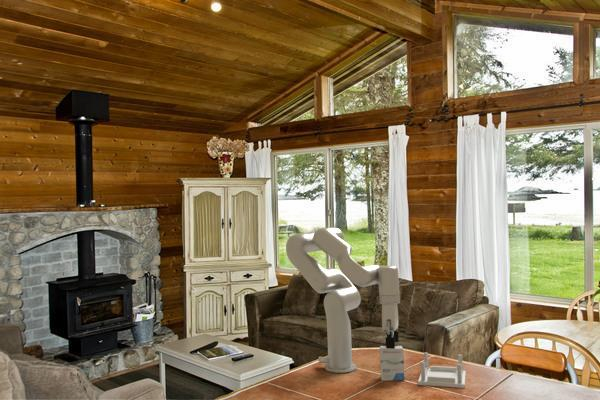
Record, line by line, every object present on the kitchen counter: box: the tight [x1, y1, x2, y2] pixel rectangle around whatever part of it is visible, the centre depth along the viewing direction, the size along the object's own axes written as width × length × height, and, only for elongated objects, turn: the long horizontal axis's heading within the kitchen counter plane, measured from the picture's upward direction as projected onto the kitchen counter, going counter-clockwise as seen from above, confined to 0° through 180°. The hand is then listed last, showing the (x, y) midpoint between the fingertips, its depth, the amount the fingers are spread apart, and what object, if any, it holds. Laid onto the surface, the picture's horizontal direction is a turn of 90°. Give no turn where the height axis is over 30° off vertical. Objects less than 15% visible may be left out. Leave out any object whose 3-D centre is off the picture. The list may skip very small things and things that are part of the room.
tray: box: [417, 352, 467, 389], centre depth 195 cm, size 16×16×8 cm
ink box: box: [379, 345, 405, 381], centre depth 198 cm, size 8×5×12 cm, turn 84°
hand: (392, 345), depth 197 cm, fingers open, 9 cm apart
